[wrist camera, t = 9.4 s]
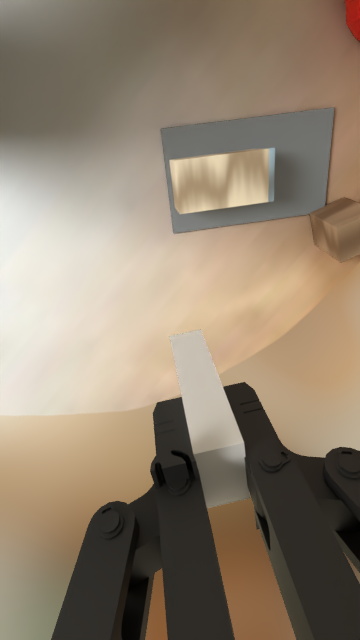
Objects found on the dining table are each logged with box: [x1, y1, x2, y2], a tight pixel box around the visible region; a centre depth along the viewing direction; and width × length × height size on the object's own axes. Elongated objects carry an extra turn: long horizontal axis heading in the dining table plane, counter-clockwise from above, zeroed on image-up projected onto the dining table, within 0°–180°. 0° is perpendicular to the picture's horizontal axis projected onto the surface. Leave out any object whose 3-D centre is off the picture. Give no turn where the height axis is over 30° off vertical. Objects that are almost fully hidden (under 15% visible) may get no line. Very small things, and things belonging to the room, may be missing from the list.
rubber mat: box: [161, 107, 334, 233], centre depth 37 cm, size 11×19×1 cm, turn 96°
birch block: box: [169, 148, 275, 214], centre depth 35 cm, size 5×5×10 cm
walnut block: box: [310, 197, 360, 262], centre depth 39 cm, size 4×4×6 cm
